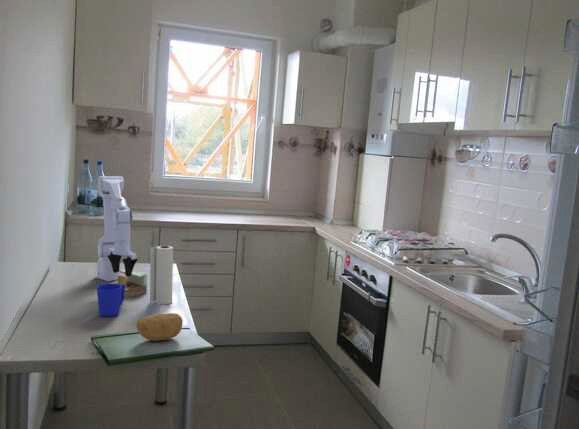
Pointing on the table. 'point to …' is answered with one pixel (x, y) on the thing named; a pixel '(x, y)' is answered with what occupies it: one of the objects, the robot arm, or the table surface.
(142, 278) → the pale green grooved slab
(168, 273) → the paper towel roll
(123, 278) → the peg
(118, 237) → the robot arm
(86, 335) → the table surface
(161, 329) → the potato
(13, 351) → the table surface
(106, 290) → the mug
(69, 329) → the table surface
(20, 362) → the table surface
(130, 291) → the socket block
